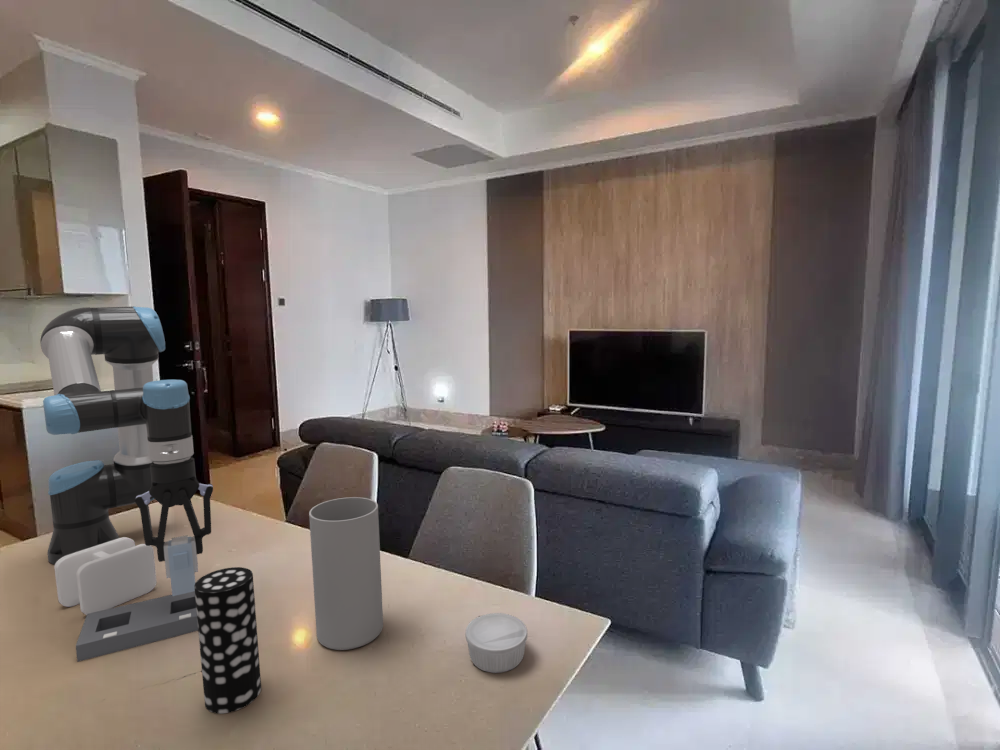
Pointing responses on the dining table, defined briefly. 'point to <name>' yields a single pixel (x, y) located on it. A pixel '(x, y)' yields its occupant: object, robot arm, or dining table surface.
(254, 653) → the spotted tube
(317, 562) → the cylinder vase
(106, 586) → the cable organizer
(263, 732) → the dining table surface
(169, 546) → the plug
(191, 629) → the socket panel
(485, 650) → the ramekin
